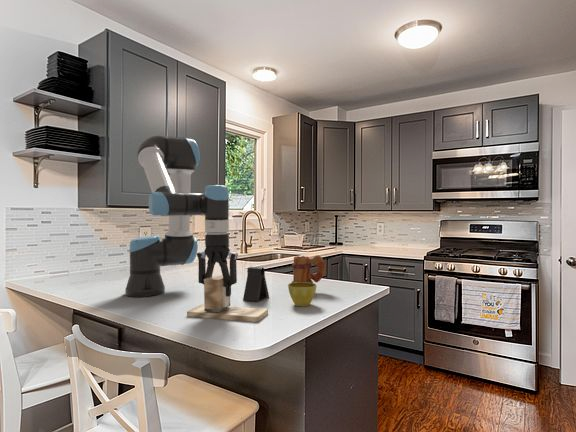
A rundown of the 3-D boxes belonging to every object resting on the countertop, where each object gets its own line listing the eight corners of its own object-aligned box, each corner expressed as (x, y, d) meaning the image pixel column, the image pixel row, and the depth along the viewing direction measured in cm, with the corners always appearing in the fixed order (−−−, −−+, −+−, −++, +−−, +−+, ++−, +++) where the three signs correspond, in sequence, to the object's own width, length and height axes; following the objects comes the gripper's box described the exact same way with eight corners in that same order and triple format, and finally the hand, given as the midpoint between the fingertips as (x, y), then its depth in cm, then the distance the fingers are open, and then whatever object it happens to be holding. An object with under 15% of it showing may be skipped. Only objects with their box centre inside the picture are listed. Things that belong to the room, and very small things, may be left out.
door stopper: (256, 302, 130) (256, 269, 129) (242, 300, 132) (242, 268, 132) (269, 297, 138) (268, 266, 137) (256, 295, 140) (255, 265, 140)
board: (187, 316, 113) (186, 311, 113) (201, 308, 121) (201, 304, 121) (257, 322, 106) (257, 316, 106) (267, 313, 115) (267, 309, 115)
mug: (288, 291, 147) (287, 255, 147) (295, 287, 154) (294, 253, 154) (322, 294, 141) (321, 256, 141) (327, 290, 149) (327, 254, 149)
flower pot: (312, 300, 132) (312, 281, 132) (319, 307, 122) (319, 286, 122) (286, 302, 130) (285, 282, 130) (290, 309, 120) (290, 288, 120)
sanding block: (204, 311, 111) (204, 279, 111) (216, 304, 119) (216, 274, 119) (218, 312, 110) (218, 279, 110) (230, 305, 118) (229, 275, 117)
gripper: (185, 234, 113) (186, 306, 113) (237, 234, 108) (238, 310, 108) (198, 232, 120) (198, 301, 121) (247, 233, 115) (248, 304, 115)
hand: (217, 305), depth 114 cm, fingers closed on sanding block, 5 cm apart
